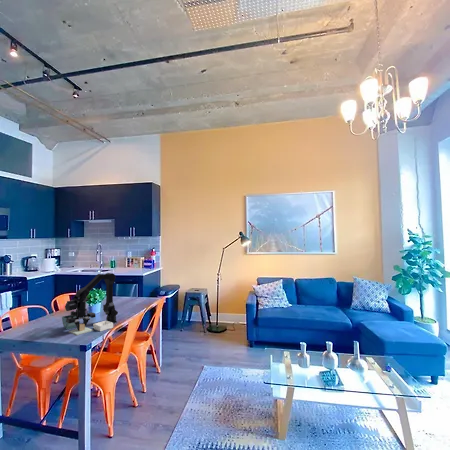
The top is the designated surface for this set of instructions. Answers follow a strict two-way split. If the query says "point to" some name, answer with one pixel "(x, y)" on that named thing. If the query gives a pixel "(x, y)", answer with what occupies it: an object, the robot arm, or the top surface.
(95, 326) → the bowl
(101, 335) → the top surface
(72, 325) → the flower pot
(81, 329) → the lid
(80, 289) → the robot arm
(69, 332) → the mat
